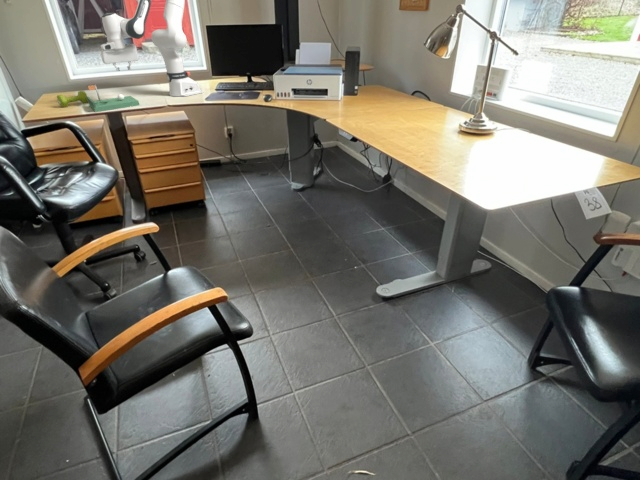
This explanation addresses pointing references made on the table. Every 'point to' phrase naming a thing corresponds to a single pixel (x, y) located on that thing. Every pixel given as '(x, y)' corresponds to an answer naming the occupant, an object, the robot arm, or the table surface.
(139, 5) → the robot arm
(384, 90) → the table surface
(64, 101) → the dumbbell
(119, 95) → the ball
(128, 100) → the putting mat
